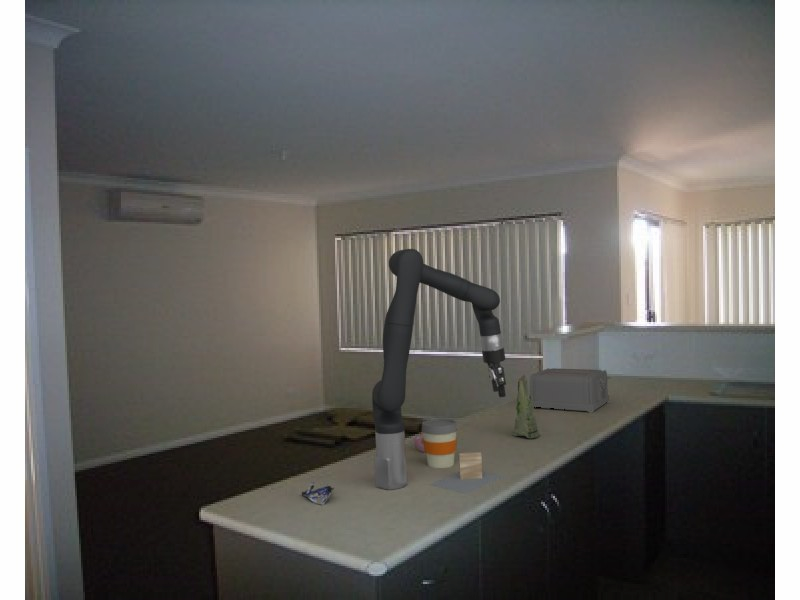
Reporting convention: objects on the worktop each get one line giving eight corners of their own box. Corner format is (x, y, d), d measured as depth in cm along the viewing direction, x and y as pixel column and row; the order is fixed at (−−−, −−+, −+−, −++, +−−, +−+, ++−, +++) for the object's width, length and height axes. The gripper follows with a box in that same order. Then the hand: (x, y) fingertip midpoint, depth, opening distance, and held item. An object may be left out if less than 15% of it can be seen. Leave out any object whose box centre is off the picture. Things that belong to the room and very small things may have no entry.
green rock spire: (523, 441, 240) (520, 378, 240) (506, 435, 251) (503, 375, 251) (545, 437, 245) (543, 375, 244) (528, 431, 255) (525, 372, 255)
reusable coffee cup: (417, 469, 208) (416, 425, 208) (429, 459, 220) (427, 418, 219) (452, 471, 203) (451, 427, 203) (463, 461, 215) (461, 419, 215)
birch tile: (482, 478, 193) (481, 453, 193) (460, 479, 193) (459, 454, 193) (481, 476, 195) (480, 451, 195) (459, 477, 195) (458, 452, 195)
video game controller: (431, 450, 239) (424, 433, 241) (440, 446, 236) (432, 429, 238) (416, 455, 231) (409, 438, 233) (425, 451, 228) (417, 434, 230)
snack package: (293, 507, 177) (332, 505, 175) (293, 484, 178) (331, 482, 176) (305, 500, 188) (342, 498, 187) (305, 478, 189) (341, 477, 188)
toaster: (601, 414, 286) (599, 377, 286) (529, 409, 305) (528, 374, 305) (617, 402, 312) (615, 369, 312) (550, 398, 331) (548, 367, 331)
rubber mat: (467, 495, 179) (467, 493, 179) (428, 485, 189) (428, 484, 189) (504, 478, 194) (504, 476, 194) (466, 470, 204) (466, 469, 204)
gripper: (477, 346, 212) (484, 391, 213) (486, 352, 198) (493, 400, 199) (498, 343, 212) (505, 387, 214) (508, 348, 198) (515, 396, 199)
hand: (499, 394), depth 206 cm, fingers open, 8 cm apart
